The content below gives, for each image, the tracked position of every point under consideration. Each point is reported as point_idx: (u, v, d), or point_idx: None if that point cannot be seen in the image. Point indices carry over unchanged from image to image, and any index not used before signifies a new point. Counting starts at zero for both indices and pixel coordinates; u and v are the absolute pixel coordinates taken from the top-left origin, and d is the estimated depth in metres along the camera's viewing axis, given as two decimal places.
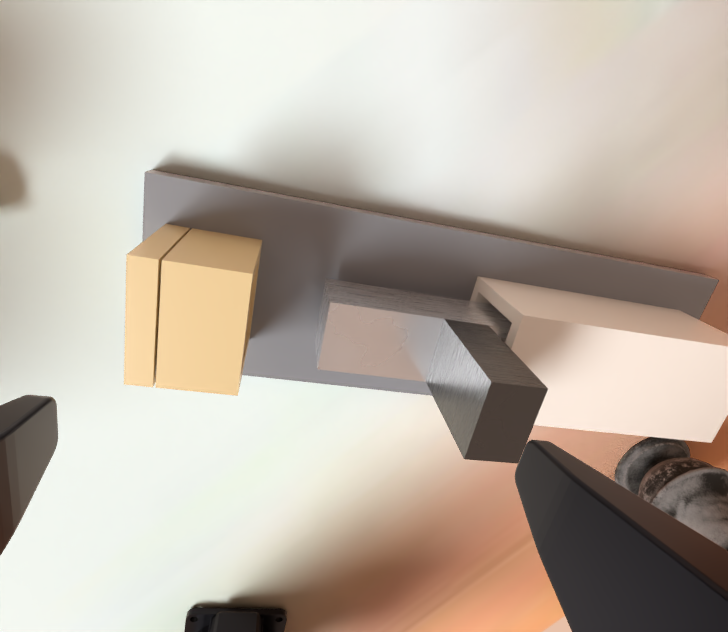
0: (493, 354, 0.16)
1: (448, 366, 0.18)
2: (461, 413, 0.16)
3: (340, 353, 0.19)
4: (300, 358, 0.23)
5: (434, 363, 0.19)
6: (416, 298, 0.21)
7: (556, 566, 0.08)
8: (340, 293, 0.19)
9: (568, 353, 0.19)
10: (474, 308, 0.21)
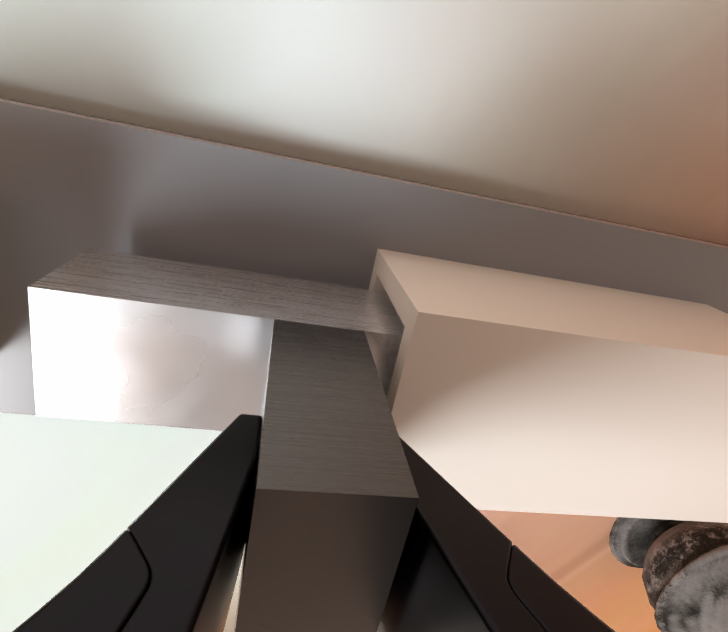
0: (327, 398, 0.07)
1: None
2: (247, 533, 0.07)
3: (76, 386, 0.10)
4: None
5: (262, 402, 0.10)
6: (250, 283, 0.12)
7: None
8: (83, 271, 0.10)
9: (514, 384, 0.10)
10: (358, 300, 0.12)
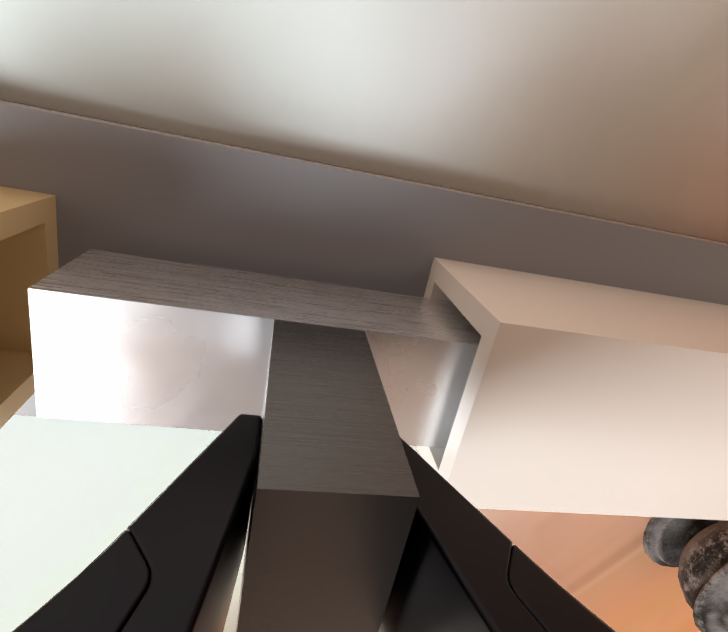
0: (327, 398, 0.07)
1: None
2: (248, 533, 0.07)
3: (76, 387, 0.10)
4: None
5: None
6: (250, 283, 0.12)
7: None
8: (84, 272, 0.10)
9: (585, 390, 0.11)
10: (358, 300, 0.12)
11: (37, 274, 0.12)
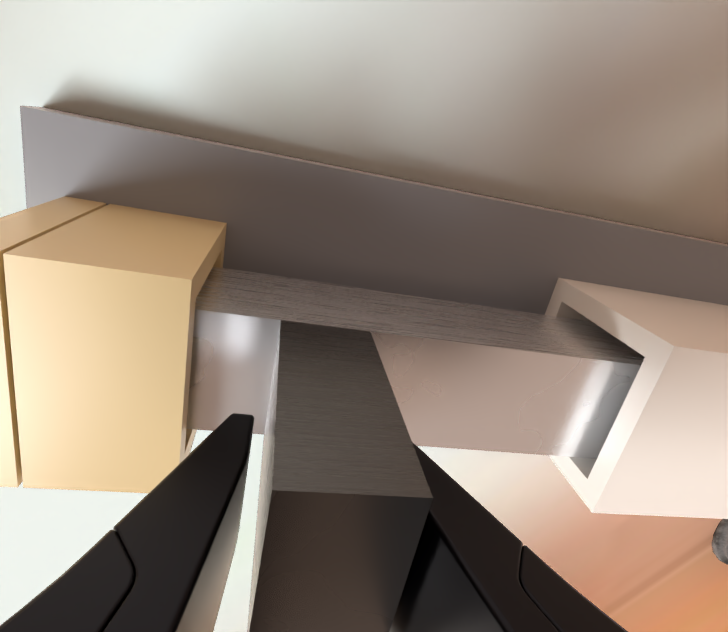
0: (337, 399, 0.07)
1: (269, 417, 0.09)
2: (259, 534, 0.07)
3: None
4: None
5: (269, 403, 0.10)
6: (255, 284, 0.12)
7: None
8: None
9: None
10: (362, 301, 0.12)
11: None
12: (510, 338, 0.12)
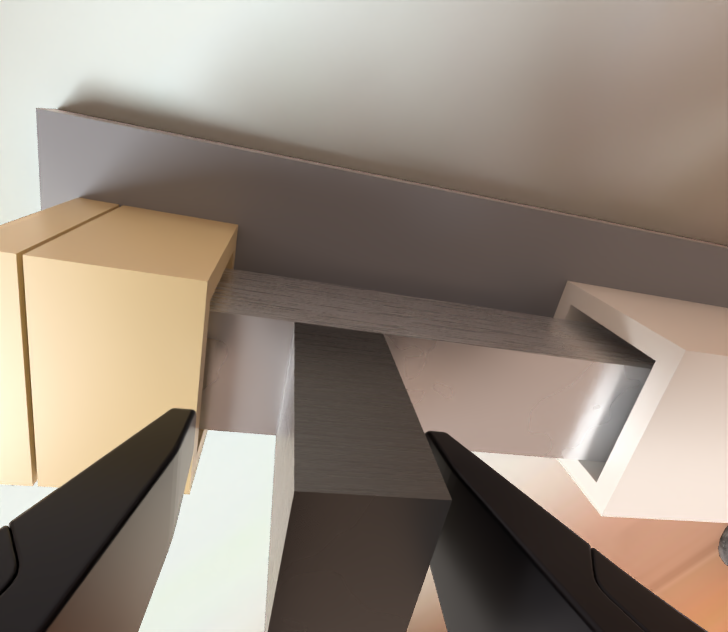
0: (354, 401, 0.08)
1: (284, 419, 0.09)
2: (275, 535, 0.07)
3: None
4: None
5: (282, 404, 0.10)
6: (267, 285, 0.12)
7: (437, 563, 0.08)
8: None
9: None
10: (373, 303, 0.12)
11: None
12: (521, 341, 0.12)
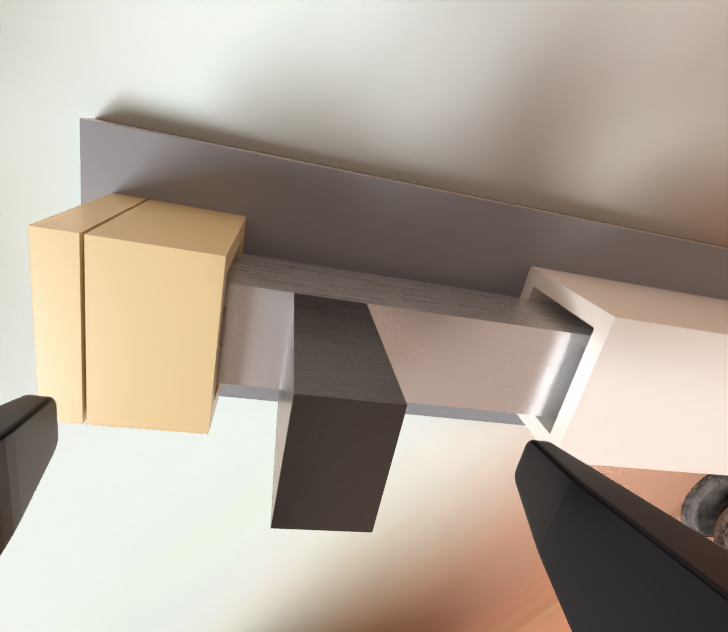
0: (339, 345, 0.10)
1: (286, 367, 0.11)
2: (279, 445, 0.09)
3: None
4: None
5: (283, 361, 0.13)
6: (271, 266, 0.14)
7: (556, 566, 0.08)
8: None
9: (672, 370, 0.14)
10: (361, 281, 0.14)
11: None
12: (484, 312, 0.14)
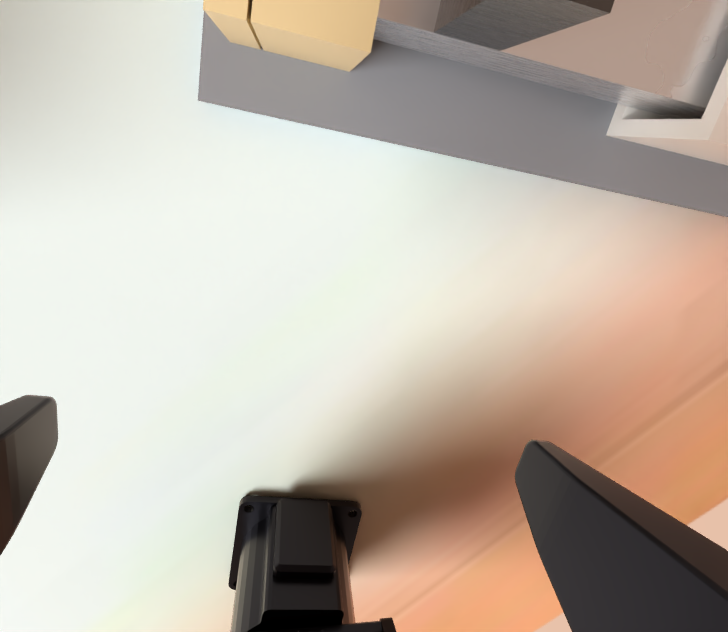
0: None
1: None
2: None
3: None
4: (414, 109, 0.17)
5: None
6: None
7: (556, 566, 0.08)
8: None
9: None
10: None
11: None
12: None
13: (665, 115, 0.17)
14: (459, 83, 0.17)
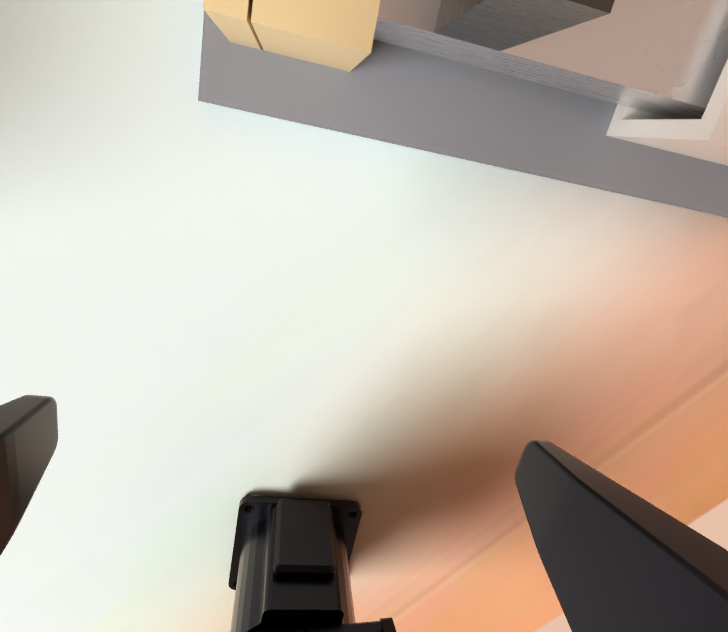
0: None
1: None
2: None
3: None
4: (414, 109, 0.17)
5: None
6: None
7: (556, 566, 0.08)
8: None
9: None
10: None
11: None
12: None
13: (665, 115, 0.17)
14: (459, 83, 0.17)
